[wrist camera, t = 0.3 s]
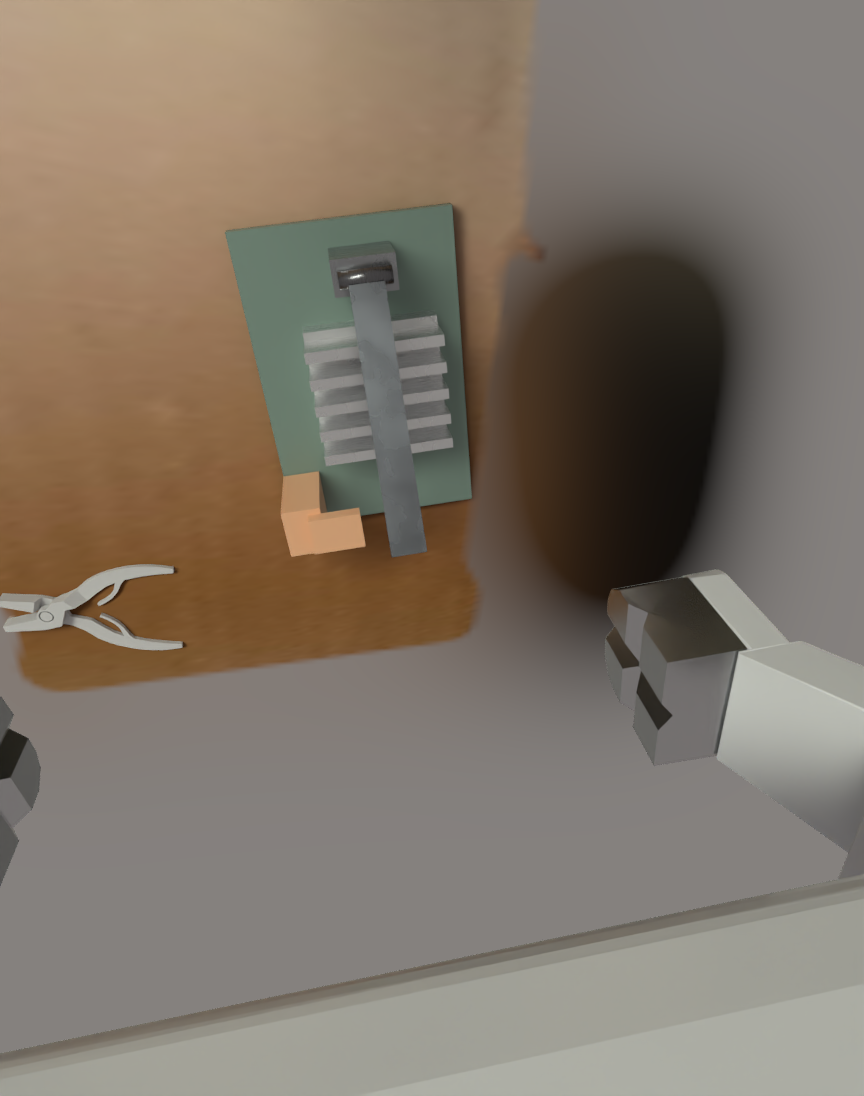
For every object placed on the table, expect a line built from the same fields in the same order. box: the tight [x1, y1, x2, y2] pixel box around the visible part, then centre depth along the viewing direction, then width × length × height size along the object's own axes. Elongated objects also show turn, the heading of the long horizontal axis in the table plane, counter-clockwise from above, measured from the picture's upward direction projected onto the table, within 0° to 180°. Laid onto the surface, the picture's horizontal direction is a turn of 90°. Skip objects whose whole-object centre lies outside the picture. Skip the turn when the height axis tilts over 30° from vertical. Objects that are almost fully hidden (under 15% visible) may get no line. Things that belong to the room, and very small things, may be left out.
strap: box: [337, 264, 427, 557], centre depth 45 cm, size 19×4×1 cm, turn 6°
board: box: [225, 203, 472, 516], centre depth 54 cm, size 24×16×1 cm, turn 6°
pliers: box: [0, 564, 183, 650], centre depth 62 cm, size 10×2×15 cm
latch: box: [281, 471, 366, 557], centre depth 55 cm, size 4×6×7 cm, turn 95°
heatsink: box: [303, 241, 453, 466], centre depth 50 cm, size 15×10×5 cm, turn 6°
